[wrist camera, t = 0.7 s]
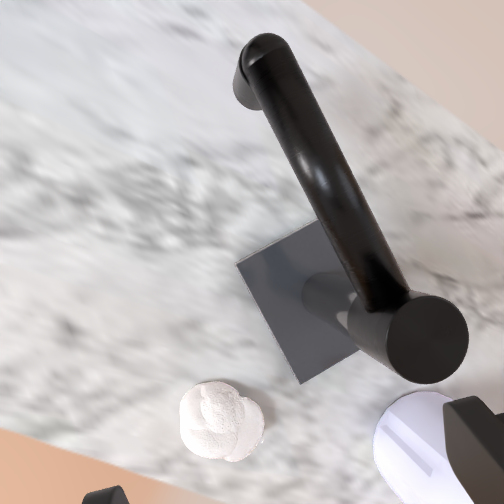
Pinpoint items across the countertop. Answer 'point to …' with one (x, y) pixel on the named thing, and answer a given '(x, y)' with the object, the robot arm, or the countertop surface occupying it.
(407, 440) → the soap bottle
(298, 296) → the faucet base
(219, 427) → the dumpling
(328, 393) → the countertop surface
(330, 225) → the spout
